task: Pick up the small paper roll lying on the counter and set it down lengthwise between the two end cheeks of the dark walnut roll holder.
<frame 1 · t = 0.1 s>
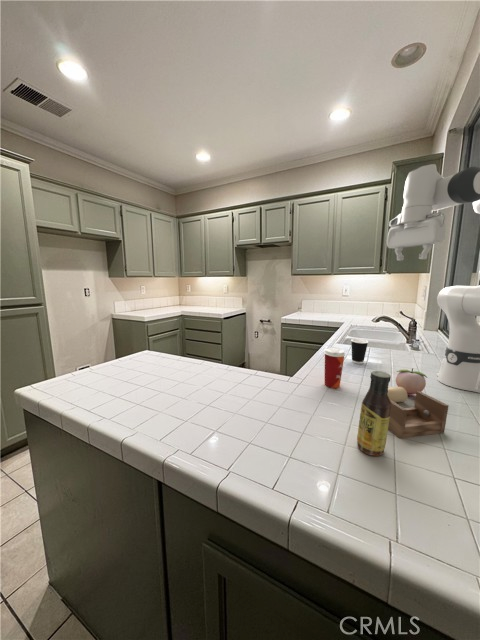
hand: (410, 259, 92), 48 cm above the table, tool pointing down, fingers open, 8 cm apart
holder: (408, 426, 76), on the table
sauce bottle: (370, 450, 65), on the table
paper cup: (331, 385, 103), on the table
roll: (389, 402, 90), on the table
dixie cup: (357, 362, 131), on the table
decorative fruit: (409, 395, 96), on the table
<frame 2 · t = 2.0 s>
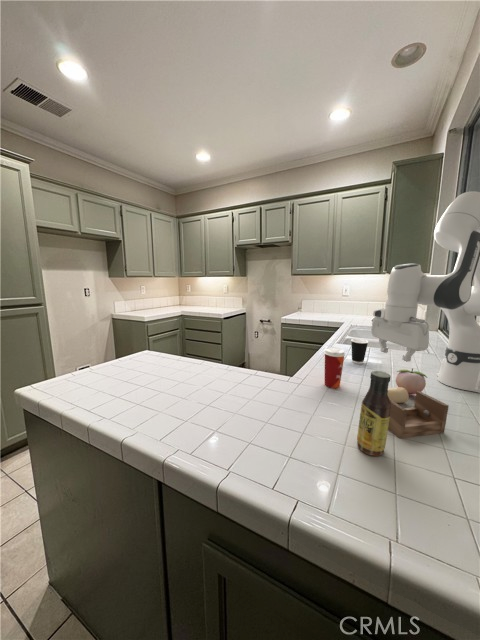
hand: (394, 356, 87), 16 cm above the table, tool pointing down, fingers open, 8 cm apart
roll: (389, 401, 90), on the table, tilted 12°
everything else where it was.
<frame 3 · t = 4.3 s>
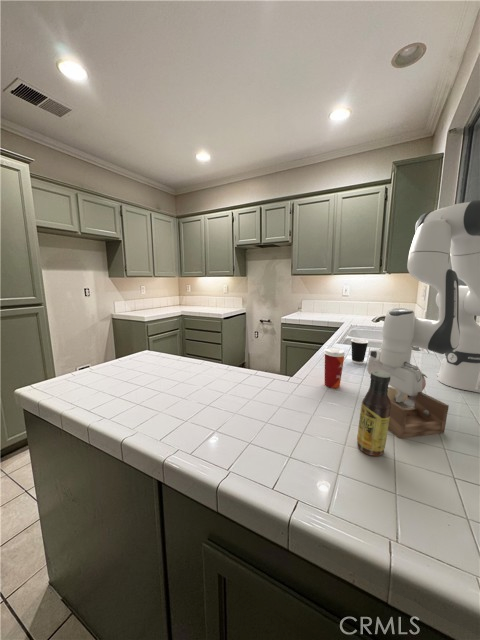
hand: (389, 396, 90), 2 cm above the table, tool pointing down, fingers closed on roll, 5 cm apart
roll: (389, 401, 90), on the table, touching gripper
everything else where it was.
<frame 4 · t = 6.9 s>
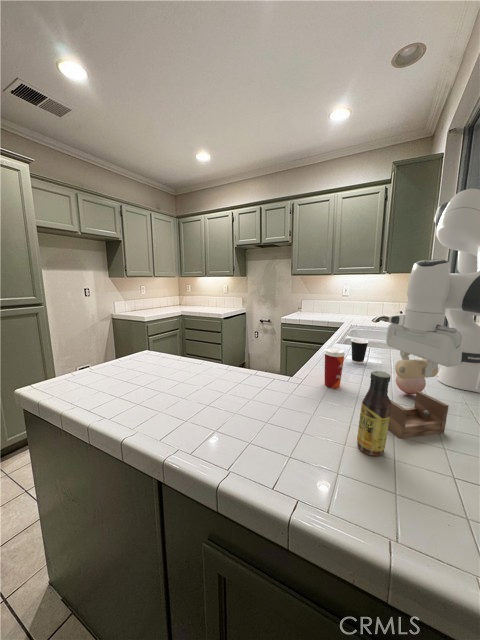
hand: (416, 371, 73), 16 cm above the table, tool pointing down, fingers closed on roll, 5 cm apart
roll: (415, 377, 73), point 15 cm above the table, touching gripper
everything else where it was.
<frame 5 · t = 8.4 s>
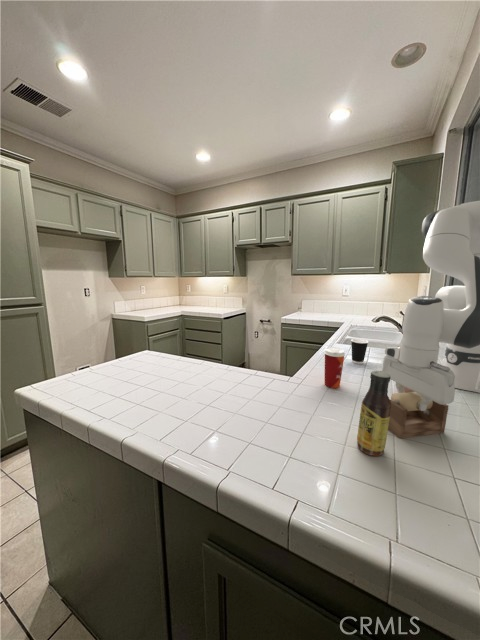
hand: (411, 403, 74), 7 cm above the table, tool pointing down, fingers closed on roll, 5 cm apart
roll: (410, 409, 75), point 5 cm above the table, touching gripper
everything else where it was.
when the fingers open (5 cm above the table, at t = 9.7 s): roll drops 2 cm, resting on holder.
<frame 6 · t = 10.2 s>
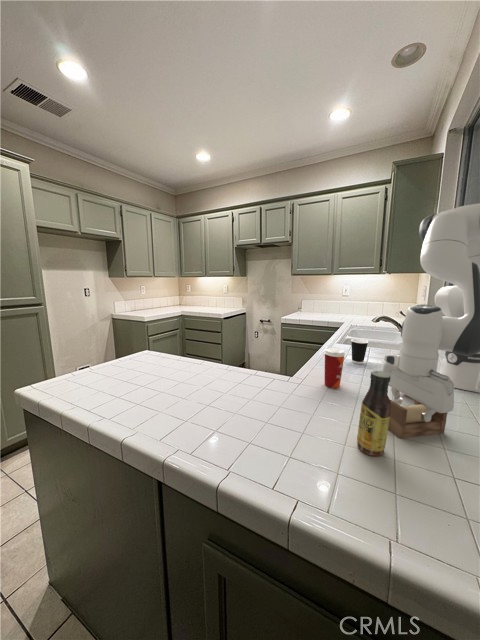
hand: (410, 411, 75), 5 cm above the table, tool pointing down, fingers open, 8 cm apart
roll: (409, 423, 75), point 1 cm above the table, touching holder
everything else where it was.
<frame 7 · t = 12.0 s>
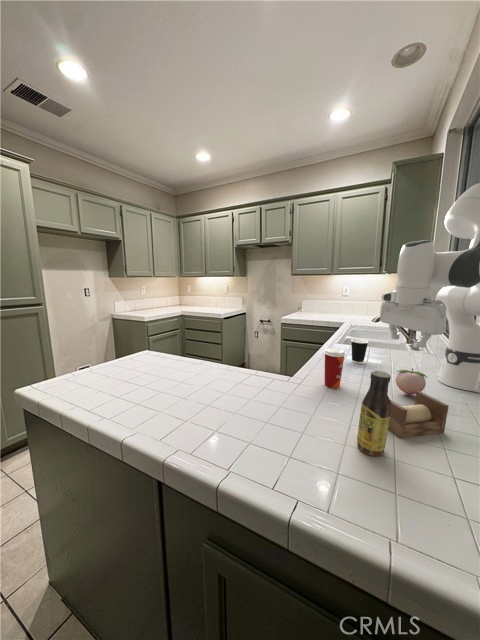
hand: (407, 342, 80), 22 cm above the table, tool pointing down, fingers open, 8 cm apart
nothing on the table moved.
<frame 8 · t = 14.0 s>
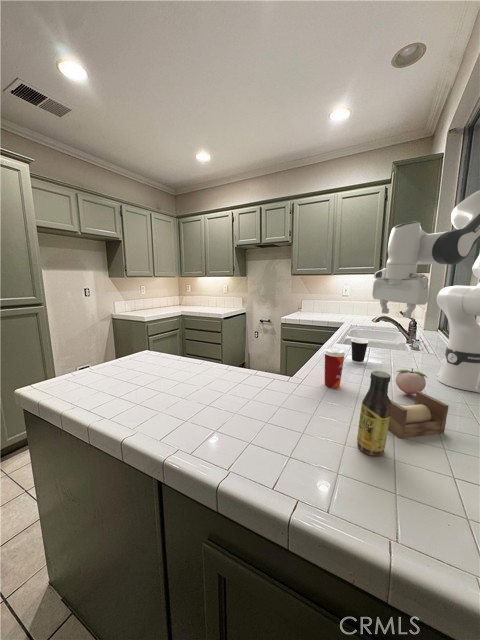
hand: (395, 315, 90), 29 cm above the table, tool pointing down, fingers open, 8 cm apart
nothing on the table moved.
at the end: roll 0.0 cm off-centre on the holder, point 1.0 cm above the holder's base; the gripper is holding nothing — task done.
